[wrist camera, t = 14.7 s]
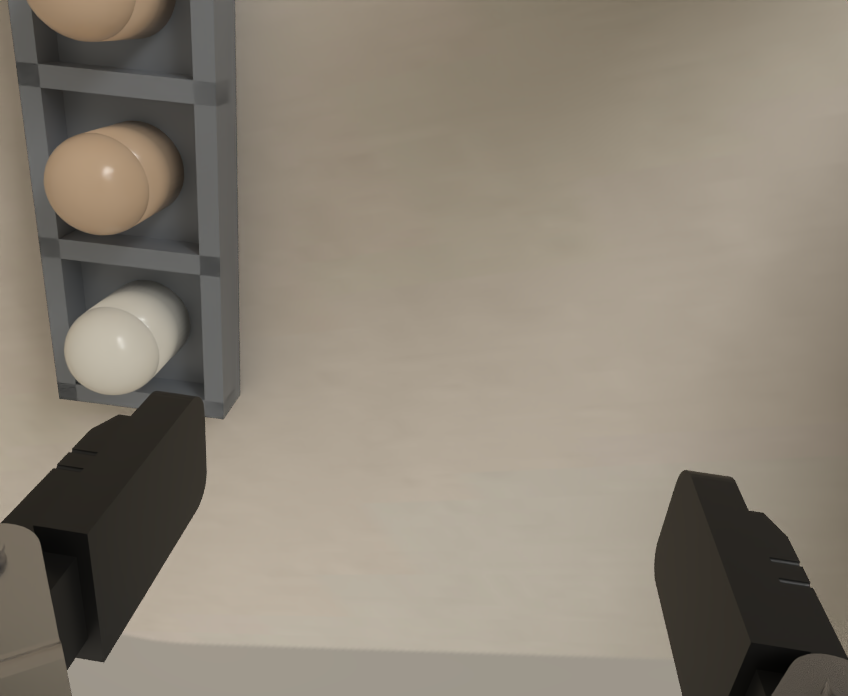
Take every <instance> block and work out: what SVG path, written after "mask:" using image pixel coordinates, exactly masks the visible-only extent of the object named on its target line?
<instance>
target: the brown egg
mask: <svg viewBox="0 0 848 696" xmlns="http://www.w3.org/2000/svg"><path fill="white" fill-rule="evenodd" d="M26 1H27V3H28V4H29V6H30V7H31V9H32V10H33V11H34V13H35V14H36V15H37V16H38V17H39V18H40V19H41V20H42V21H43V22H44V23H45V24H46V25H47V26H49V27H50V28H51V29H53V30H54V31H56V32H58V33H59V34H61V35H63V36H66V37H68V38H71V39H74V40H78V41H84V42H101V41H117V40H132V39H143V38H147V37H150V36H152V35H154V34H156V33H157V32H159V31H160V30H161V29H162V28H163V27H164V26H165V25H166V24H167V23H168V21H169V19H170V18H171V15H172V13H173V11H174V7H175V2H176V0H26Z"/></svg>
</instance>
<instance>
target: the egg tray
mask: <svg viewBox="0 0 848 696" xmlns="http://www.w3.org/2000/svg"><path fill="white" fill-rule="evenodd" d="M8 6H9V14H10V21H11V29H12V37H13V44H14V52H15V60H16V68H17V75H18V83H19V91H20V98H21V106H22V114H23V122H24V129H25V137H26V145H27V152H28V160H29V168H30V176H31V183H32V191H33V199H34V206H35V214H36V222H37V230H38V237H39V245H40V253H41V260H42V268H43V276H44V284H45V291H46V299H47V307H48V314H49V322H50V330H51V338H52V345H53V353H54V361H55V368H56V376H57V384H58V392H59V399H67V400H74V401H82V402H90V403H98V404H106V405H114V406H122V407H130V408H139V406H140V405H141V404H142V403H143V402H144V401H145V400H146V399H147V398H148V396H149V395H150V394H151V393H152V392H154V391H164V392H171V393H177V394H184V395H191V396H198V397H200V398H201V399H202V401H203V403H204V411H205V417H210V418H218V419H224V418H225V416H226V415H227V413H228V412H229V411H230V409H231V408H232V406H233V405H234V403H235V402H236V400H237V399H238V397H239V396H240V351H239V277H238V203H237V129H236V55H235V0H176V2H175V7H174V11H173V13H172V15H171V18H170V19H169V21H168V23H167V24H166V25H165V26H164V27H163V28H162V29H161V30H160V31H159V32H157V33H156V34H154V35H152V36H150V37H147V38H143V39H132V40H117V41H101V42H84V41H78V40H74V39H71V38H68V37H66V36H63V35H61V34H59V33H58V32H56V31H54V30H53V29H51V28H50V27H49V26H47V25H46V24H45V23H44V22H43V21H42V20H41V19H40V18H39V17H38V16H37V15H36V14H35V13H34V11H33V10H32V9H31V7H30V6H29V4H28V3H27V1H26V0H8ZM124 121H141V122H145V123H148V124H150V125H152V126H155V127H156V128H158V129H159V130H161V131H162V132H163V133H165V134H166V135H167V136H168V137H169V138H170V139H171V141H172V142H173V143H174V145H175V146H176V148H177V150H178V152H179V154H180V156H181V159H182V162H183V167H184V181H183V186H182V189H181V191H180V194H179V195H178V197H177V198H176V199H175V201H174V202H173V203H172V204H170V205H169V206H168V207H166V208H164V209H162V210H161V211H159V212H157V213H156V214H154V215H152V216H150V217H149V218H147V219H145V220H144V221H142V222H140V223H138V224H137V225H135V226H133V227H132V228H130V229H128V230H126V231H123V232H121V233H117V234H113V235H94V234H89V233H85V232H82V231H80V230H78V229H76V228H74V227H72V226H70V225H69V224H67V223H66V222H65V221H64V220H63V219H61V218H60V217H59V215H58V214H57V213H56V212H55V211H54V209H53V208H52V206H51V204H50V203H49V201H48V198H47V196H46V192H45V188H44V171H45V166H46V163H47V161H48V159H49V157H50V155H51V154H52V152H53V151H54V150H55V148H56V147H57V146H59V145H60V144H61V143H62V142H63V141H65V140H66V139H68V138H70V137H73V136H75V135H78V134H81V133H85V132H88V131H92V130H95V129H99V128H102V127H106V126H109V125H113V124H116V123H120V122H124ZM136 280H149V281H154V282H157V283H160V284H162V285H164V286H166V287H168V288H169V289H170V290H172V291H173V292H174V293H175V294H176V295H177V296H178V297H179V298H180V299H181V300H182V302H183V303H184V305H185V307H186V309H187V311H188V314H189V318H190V333H189V337H188V339H187V341H186V343H185V344H184V346H183V347H182V348H181V349H180V350H179V351H178V352H177V353H176V354H175V355H174V356H173V357H172V358H171V359H170V360H169V361H168V362H167V363H166V364H165V365H164V366H163V367H162V368H161V369H160V371H159V372H158V373H157V374H156V375H155V376H154V377H153V378H152V379H151V380H150V381H149V382H148V383H147V384H145V385H144V386H143V387H141V388H139V389H137V390H135V391H133V392H130V393H127V394H122V395H105V394H100V393H97V392H94V391H92V390H90V389H88V388H86V387H84V386H83V385H82V384H80V383H79V382H78V381H77V380H76V379H75V378H74V376H73V375H72V374H71V372H70V371H69V368H68V366H67V364H66V360H65V356H64V344H65V339H66V336H67V333H68V331H69V329H70V327H71V326H72V324H73V323H74V322H75V320H76V319H77V318H78V317H80V316H81V315H82V314H83V313H85V312H86V311H87V310H89V309H90V308H92V307H93V306H95V305H96V304H97V303H99V302H100V301H102V300H103V299H104V298H106V297H107V296H109V295H110V294H112V293H113V292H114V291H116V290H117V289H119V288H120V287H121V286H123V285H125V284H126V283H129V282H132V281H136Z"/></svg>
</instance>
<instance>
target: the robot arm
mask: <svg viewBox="0 0 848 696" xmlns="http://www.w3.org/2000/svg"><path fill="white" fill-rule="evenodd" d="M206 474H207V468H206V440H205V411H204V403H203V401H202V399H201V398H200V397H198V396H191V395H184V394H177V393H171V392H164V391H154V392H152V393H151V394H150V395H149V396H148V398H147V399H146V400H145V401H144V402H143V403H142V404H141V405H140V406H139V408H138V409H137V410H136V411H135V412H134V413H133V414H132V415H131V416H125V415H117V416H115V417H113V418H111V419H109V420H108V421H106V422H104V423H102V424H100V425H98V426H96V427H94V428H92V429H91V430H90V431H89V432H88V433H87V434H86V435H85V436H84V437H83V438H82V439H81V440H80V441H79V442H78V443H77V444H76V445H75V446H74V447H73V448H72V453H70V452H69V453H68V454H67V455H66V456H65V457H64V458H63V459H62V460H61V461H60V462H59V463H58V464H57V468H56V469H55V468H53V469H52V470H51V471H50V472H49V473H48V474H47V475H46V477H45V478H44V479H43V480H42V481H41V482H40V483H39V484H38V485H37V486H36V487H35V488H34V489H33V490H32V491H31V492H30V493H29V494H28V495H27V496H26V497H25V498H24V499H23V500H22V501H21V503H20V504H19V505H18V506H17V507H16V508H15V509H14V510H13V511H12V512H11V513H10V514H9V515H8V516H7V517H6V518H5V519H4V520H3V521H2V522H1V523H0V696H72V693H71V689H70V683H69V678H68V673H67V670H68V668H69V667H70V665H71V664H72V662H73V661H74V659H75V658H82V659H88V660H93V661H99V662H104V661H105V660H106V658H107V656H108V655H109V653H110V652H111V650H112V648H113V647H114V645H115V643H116V642H117V640H118V639H119V637H120V635H121V634H122V632H123V630H124V629H125V627H126V625H127V624H128V622H129V620H130V619H131V617H132V616H133V614H134V612H135V611H136V609H137V607H138V606H139V604H140V602H141V601H142V599H143V597H144V596H145V594H146V593H147V591H148V589H149V588H150V586H151V584H152V583H153V581H154V579H155V578H156V576H157V575H158V573H159V571H160V570H161V568H162V566H163V565H164V563H165V561H166V560H167V558H168V556H169V555H170V553H171V552H172V550H173V548H174V547H175V545H176V543H177V542H178V540H179V538H180V537H181V535H182V533H183V532H184V530H185V529H186V527H187V525H188V524H189V522H190V520H191V519H192V517H193V515H194V514H195V512H196V511H197V509H198V507H199V505H200V502H201V499H202V496H203V493H204V489H205V484H206ZM799 563H800V561H799V559H798V557H797V555H796V553H795V551H794V549H793V547H792V545H791V543H790V541H789V539H788V537H787V536H786V535H785V534H784V533H783V532H782V531H781V530H780V529H779V528H778V527H777V526H776V525H775V524H774V523H773V522H772V521H771V520H770V519H769V518H768V517H767V516H766V515H765V514H764V513H760V512H754V511H748V508H747V506H746V504H745V502H744V500H743V497H742V495H741V493H740V491H739V488H738V486H737V484H736V482H735V480H734V479H733V478H732V477H728V476H722V475H715V474H708V473H701V472H695V471H688V470H684V471H683V472H682V473H681V474H680V475H679V477H678V480H677V482H676V485H675V489H674V492H673V495H672V498H671V501H670V504H669V508H668V511H667V514H666V517H665V520H664V523H663V527H662V530H661V533H660V536H659V539H658V543H657V547H656V553H655V563H654V572H655V581H656V586H657V590H658V595H659V599H660V603H661V607H662V611H663V616H664V620H665V624H666V628H667V632H668V637H669V641H670V645H671V649H672V654H673V658H674V662H675V666H676V670H677V675H678V679H679V683H680V687H681V691H682V696H848V658H847V656H846V654H845V652H844V650H843V647H842V645H841V643H840V641H839V639H838V637H837V635H836V633H835V631H834V629H833V627H832V625H831V623H830V621H829V619H828V617H827V615H826V613H825V611H824V609H823V607H822V605H821V603H820V601H819V599H818V597H817V595H816V593H815V591H814V589H813V588H810V581H809V579H808V577H807V575H806V573H805V571H804V569H803V567H800V566H799Z"/></svg>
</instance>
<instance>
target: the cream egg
mask: <svg viewBox="0 0 848 696" xmlns="http://www.w3.org/2000/svg"><path fill="white" fill-rule="evenodd" d="M189 333H190V318H189V314H188V311H187V309H186V307H185V305H184V303H183V302H182V300H181V299H180V298H179V297H178V296H177V295H176V294H175V293H174V292H173V291H172V290H170V289H169V288H168V287H166V286H164V285H162V284H160V283H157V282H154V281H149V280H136V281H132V282H129V283H126V284H125V285H123V286H121V287H120V288H119V289H117V290H116V291H114V292H113V293H112V294H110V295H109V296H107V297H106V298H104V299H103V300H102V301H100V302H99V303H97V304H96V305H95V306H93V307H92V308H90V309H89V310H87V311H86V312H85V313H83V314H82V315H81V316H80V317H78V318H77V319H76V320H75V322H74V323H73V324H72V326H71V327H70V329H69V331H68V333H67V336H66V339H65V344H64V356H65V360H66V364H67V366H68V368H69V371H70V372H71V374H72V375H73V376H74V378H75V379H76V380H77V381H78V382H79V383H80V384H82V385H83V386H84V387H86V388H88V389H90V390H92V391H94V392H97V393H100V394H105V395H122V394H127V393H130V392H133V391H135V390H137V389H139V388H141V387H143V386H144V385H145V384H147V383H148V382H149V381H150V380H151V379H152V378H153V377H154V376H155V375H156V374H157V373H158V372H159V371H160V369H161V368H162V367H163V366H164V365H165V364H166V363H167V362H168V361H169V360H170V359H171V358H172V357H173V356H174V355H175V354H176V353H177V352H178V351H179V350H180V349H181V348H182V347H183V346H184V344H185V343H186V341H187V339H188V337H189Z"/></svg>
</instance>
